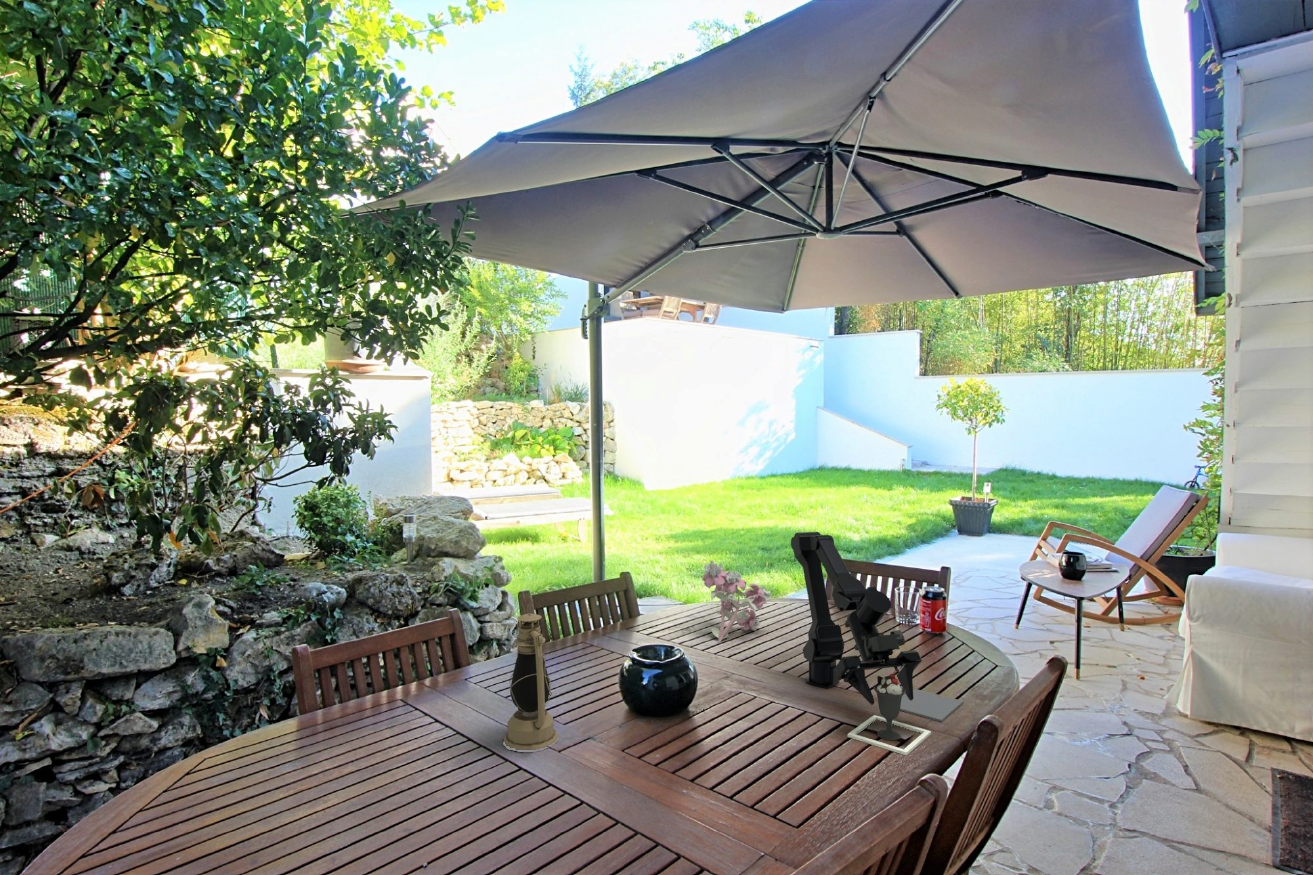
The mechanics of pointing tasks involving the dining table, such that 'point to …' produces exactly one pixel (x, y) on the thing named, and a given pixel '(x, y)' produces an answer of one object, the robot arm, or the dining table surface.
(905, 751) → the stand rim
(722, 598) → the flower
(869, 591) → the robot arm
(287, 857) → the dining table surface
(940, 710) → the mat
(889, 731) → the sundae
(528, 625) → the lantern
